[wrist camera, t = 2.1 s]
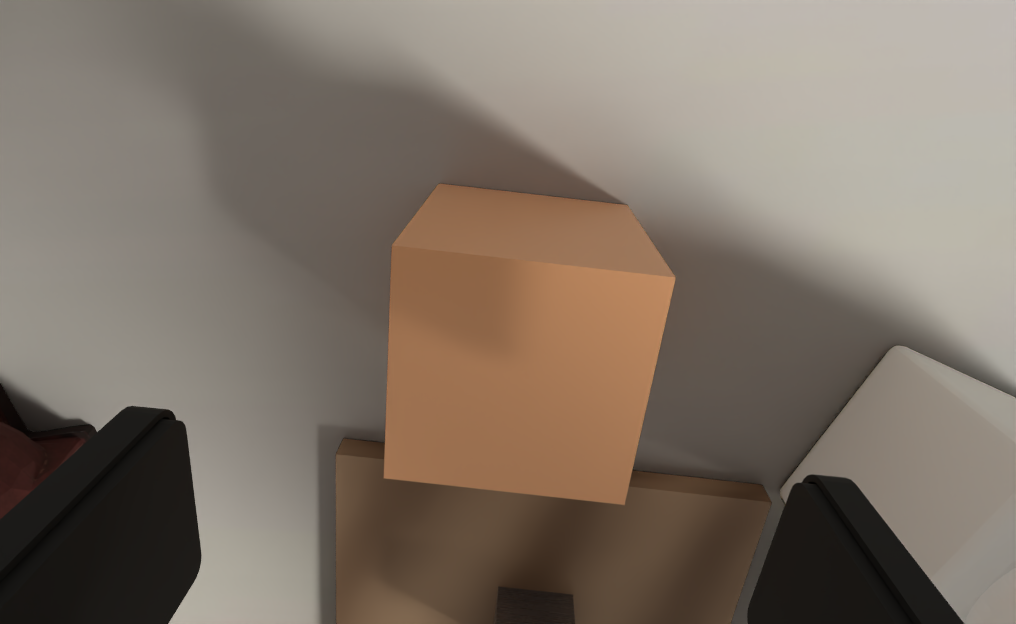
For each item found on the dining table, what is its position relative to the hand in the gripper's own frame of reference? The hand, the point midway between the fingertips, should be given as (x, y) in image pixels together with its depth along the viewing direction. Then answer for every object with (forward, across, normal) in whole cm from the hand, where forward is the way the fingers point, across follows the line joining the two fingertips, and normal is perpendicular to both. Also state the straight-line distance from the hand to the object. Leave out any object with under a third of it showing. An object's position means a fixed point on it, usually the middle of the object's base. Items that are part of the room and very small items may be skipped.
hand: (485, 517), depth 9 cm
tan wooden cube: (+12, -1, 0) cm, 12 cm away
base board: (+12, -3, +14) cm, 19 cm away
